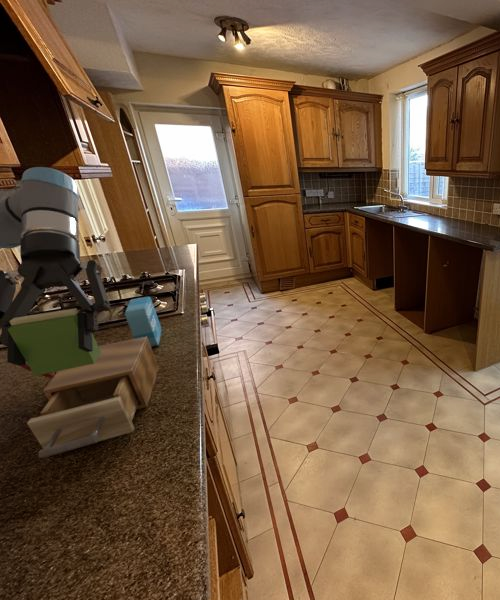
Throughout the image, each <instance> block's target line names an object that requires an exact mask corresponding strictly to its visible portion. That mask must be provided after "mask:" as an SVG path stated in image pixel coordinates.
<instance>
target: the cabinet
mask: <svg viewBox="0 0 500 600" xmlns="http://www.w3.org/2000/svg"><path fill="white" fill-rule="evenodd" d="M98 347H99V349H100V351H101V354H100V355H99V357H98V358H97V360H96V361H95V363H94V364H89V365H85V366H80V367H75V368H70V369H66V370H61V371H58V372H57V374H56V375H55V376H54V378H53V379H52V378H51V380H50V381H49V382H48V383H47V385H46V386H45V388H43V390H42V392H43V393H44V395H45V397H46V398H47V400H48V402H49V401H50V399H51V398H52V397H53V395H54V394H55V392H56V391H60V390H65V389H69V388H73V387H78V386H82V385H86V384H91V383H95V382H99V381H104V380H108V379H112V378H117V377H121V376H125V375H129V377H130V380H131V382H132V384H133V387H134V389H135V391H136V394H137V396H138V398H139V403H138V406H137V408H136V411H137V410H141V409H144V408H148V405H149V402H150V399H151V396H152V394H153V390H154V387H155V384H156V381H157V377H158V374H159V371H160V367H159V364H158V361H157V359H156V356H155V354H154V351H153V347H151V346H150V343H149V341H148V338H147V337H142V338H137V339H134V338H132V339H128V340H126V339H125V340H122V341H117V342H112V343H107V344H101V345H98Z"/></svg>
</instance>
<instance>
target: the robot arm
mask: <svg viewBox="0 0 500 600" xmlns="http://www.w3.org/2000/svg"><path fill="white" fill-rule="evenodd" d="M20 184H21V187H20V188H19V189H18V190H16V191H15V192H13V193H11V194H10V195H8V196H7V197H6V198H4V199H3V200H0V249H6V250H7V249H15V248H18V247H20V251H19V255H20V262H21V263H20V265H19V266H18V267H17V269H14V270H10V271H4V270H3V269H0V329H1V335H0V343H1V345H2V346H5V347H7V353H6V354H7V355H6V356H7V357H6V362H7V363H9V364H12V365H15V366H18V367H21V365H26V360H25V359H24V357H23V355H22V353H21V352H20V350H19V348H18V347H17V345H16V343H15V341H14V340H13V338H12V336H11V335H10V333H9V331H8V330H7V329H8V328H10V327H11V326H12V325H11V323H10V322H9V321H10V320H12V319H13V318H17V317H23V316H28V314H29V313H30V310H32V307H33V306H34V304H35V303H36V302H37V299H38V298H39V296H40V295H43V294H44V292H45V291H46V290H48V289H52V288H56V287H57V288H59V287H60V288H62V287H66V289H67V290H68V292H69V293H70V294H71V296H72V297H73V299H74V300H75V301H76V302H77V304H78V305H79V306H80V309H81V310H82V313H78V342H79V349H82V350H84V351H86V352H91V351H93V345H92V334H93V333H94V332H98V330H99V320H98V319H99V314H101V313H102V312H108V311H110V310H111V309H112V308H111V304H110V301H109V298H108V295H107V292H106V288H105V285H104V282H103V280H102V272H103V267H102V266H101V265H100V264H99V263H98V262H97V261H96V260H94V259H90V260H88V261H87V262H81V248H80V226H79V221H80V220H79V198H80V196H79V193H78V189H77V183H76V182H75V180H74V179H73V178H72V177H71V176H70V175H68V174H67V173H65V172H63V171H61V170H59V169H55V168H51V167H46V166H45V167H44V166H35V167H34V166H33V167H30V168H28V169H26V170H25V171H24V172H23V173H22V177H21V179H20ZM82 271H83V273H85V274H86V277H87V280H88V284H89V287H90V290H91V293H92V296H93V300H94V303H93V302H92V301H91V300H90V298H89V297H88V296H87V294H86V293H85V292H84V290H83V289H82V287H81V285H80V284H79V282H78V281H77V280H76V279H75V278H76V277H78V276H79V274H80V273H81V272H82ZM20 278H24V279H23V280H22V282H21V283H20ZM18 284H20V289H19V290H18V292H17V294H16V291H17V285H18ZM15 294H16V295H15Z"/></svg>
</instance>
